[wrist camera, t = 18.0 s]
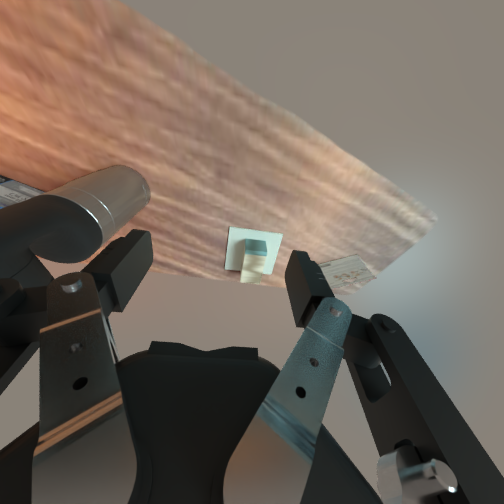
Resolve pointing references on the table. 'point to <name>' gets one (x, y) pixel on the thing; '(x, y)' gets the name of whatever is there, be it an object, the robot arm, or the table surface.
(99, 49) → the table surface
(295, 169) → the table surface
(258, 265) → the ash block
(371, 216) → the table surface
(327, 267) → the ink cartridge box
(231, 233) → the mat
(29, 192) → the label tape box
